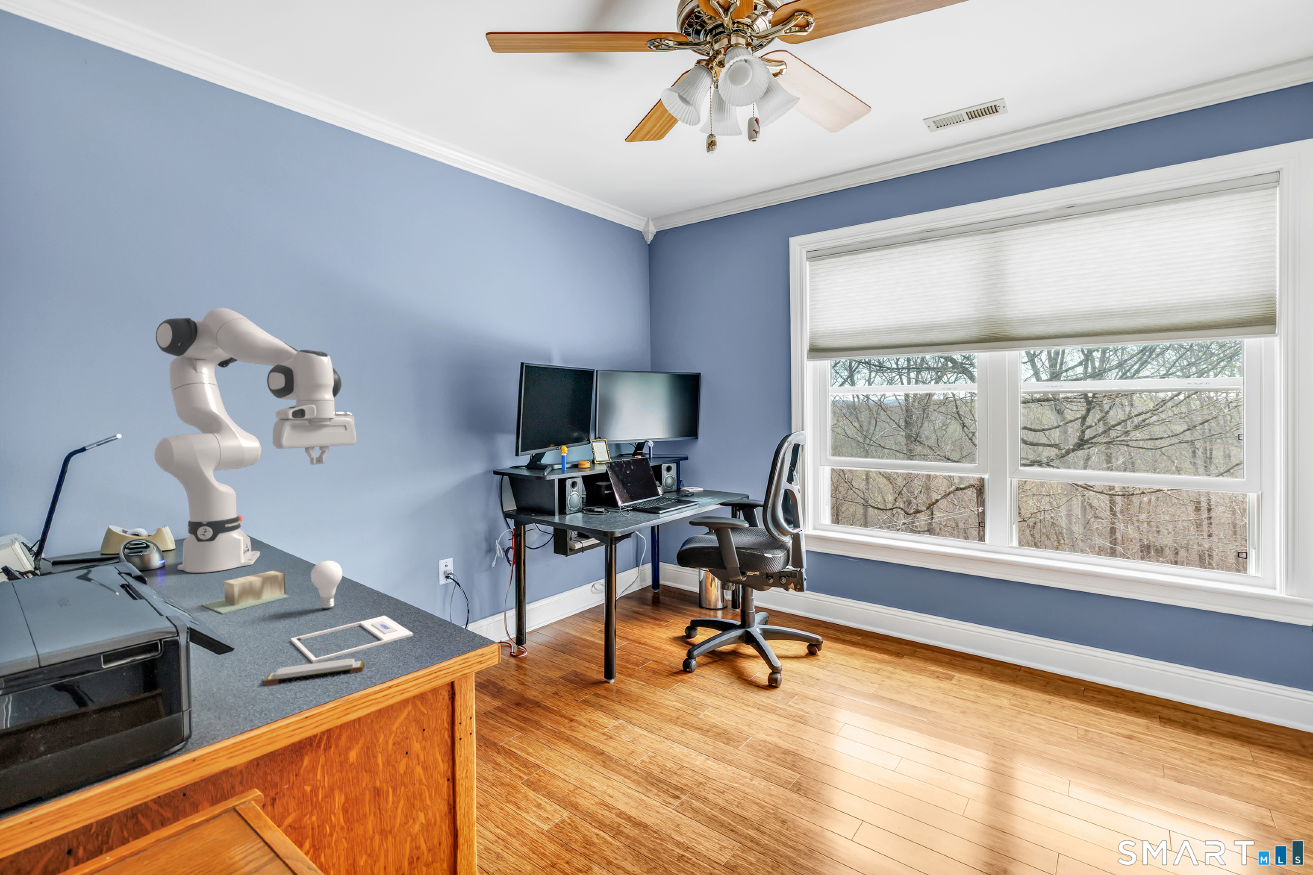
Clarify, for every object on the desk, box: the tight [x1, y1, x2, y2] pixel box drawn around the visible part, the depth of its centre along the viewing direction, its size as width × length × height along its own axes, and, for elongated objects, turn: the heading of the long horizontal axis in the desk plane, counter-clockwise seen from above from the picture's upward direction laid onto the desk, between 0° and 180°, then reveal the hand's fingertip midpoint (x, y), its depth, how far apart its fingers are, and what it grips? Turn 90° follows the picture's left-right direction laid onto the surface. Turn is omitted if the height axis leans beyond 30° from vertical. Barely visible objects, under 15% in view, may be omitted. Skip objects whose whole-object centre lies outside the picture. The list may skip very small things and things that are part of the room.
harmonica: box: [264, 658, 365, 686], centre depth 103 cm, size 15×3×2 cm, turn 110°
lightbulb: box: [310, 560, 343, 610], centre depth 137 cm, size 6×6×11 cm
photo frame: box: [290, 615, 414, 664], centre depth 119 cm, size 15×1×18 cm
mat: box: [201, 593, 290, 614], centre depth 143 cm, size 14×11×1 cm
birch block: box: [223, 570, 286, 606], centre depth 144 cm, size 5×5×11 cm
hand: (317, 464), depth 158 cm, fingers closed
